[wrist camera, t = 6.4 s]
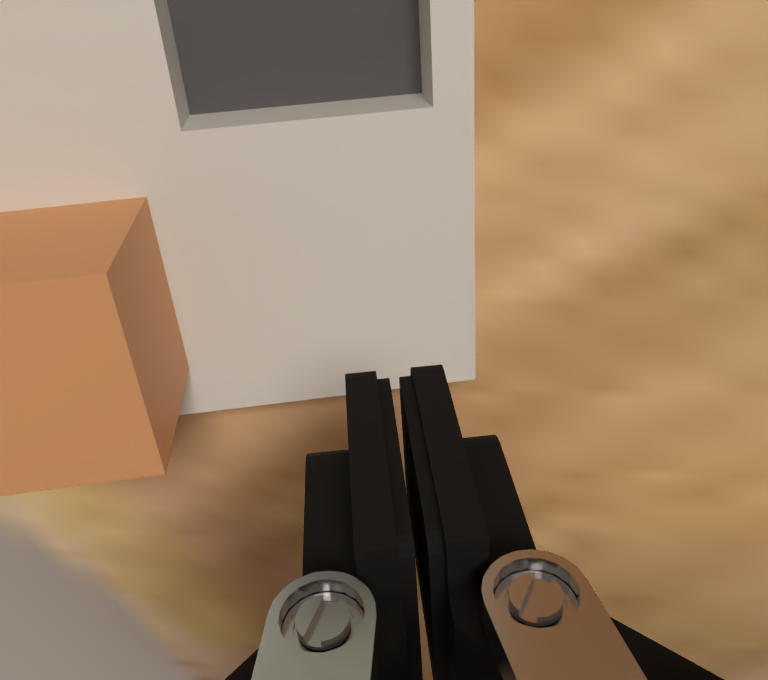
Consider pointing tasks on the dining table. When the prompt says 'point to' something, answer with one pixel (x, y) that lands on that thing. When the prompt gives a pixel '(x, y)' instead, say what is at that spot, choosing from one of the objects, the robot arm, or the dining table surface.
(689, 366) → the dining table surface
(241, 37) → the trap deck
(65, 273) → the block
